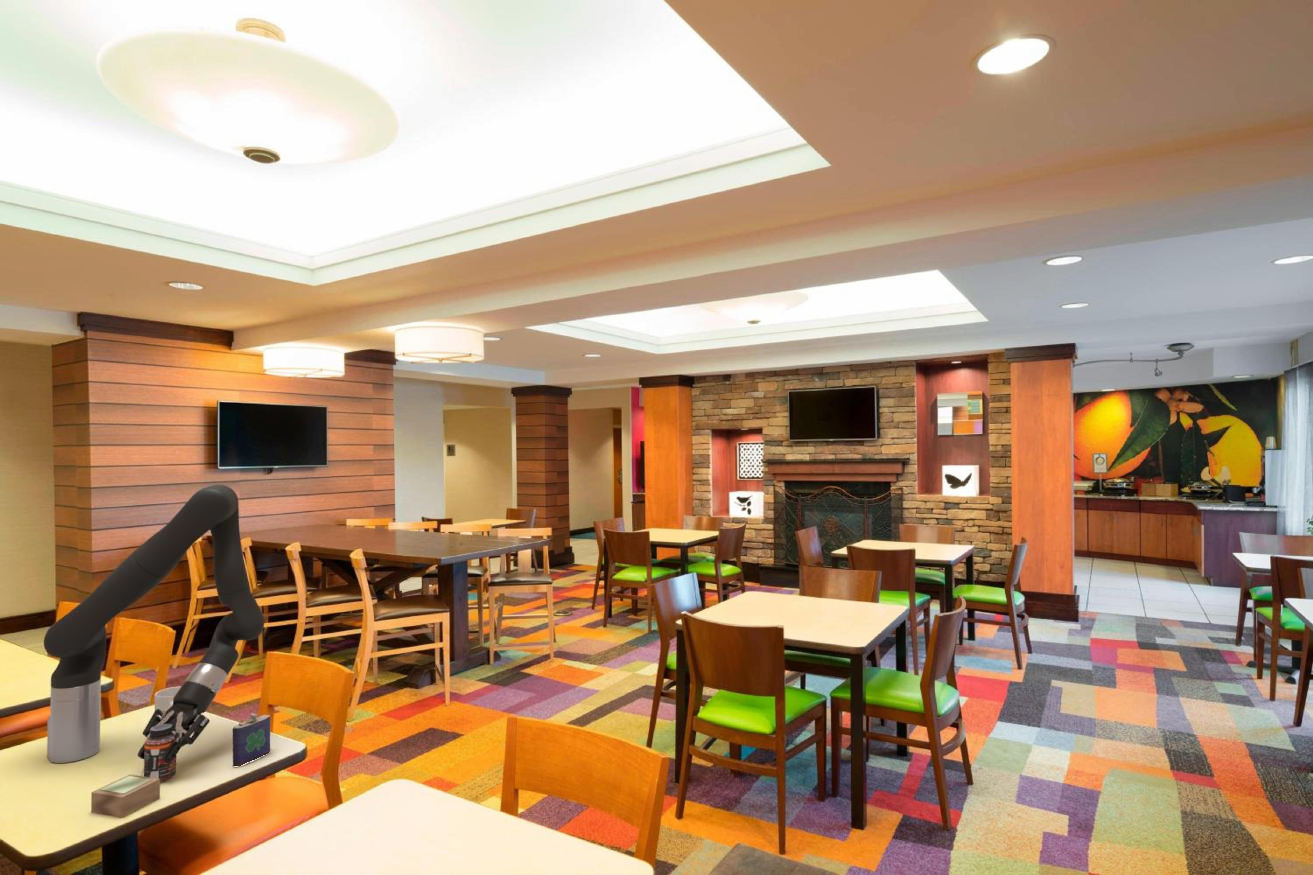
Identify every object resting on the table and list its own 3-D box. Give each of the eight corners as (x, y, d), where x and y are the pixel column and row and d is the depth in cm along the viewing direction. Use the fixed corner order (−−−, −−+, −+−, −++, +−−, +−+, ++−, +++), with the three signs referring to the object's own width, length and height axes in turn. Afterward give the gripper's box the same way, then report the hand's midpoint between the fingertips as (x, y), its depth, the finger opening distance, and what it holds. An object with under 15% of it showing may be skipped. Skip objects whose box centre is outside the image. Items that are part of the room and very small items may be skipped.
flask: (265, 750, 171) (266, 705, 171) (274, 752, 170) (274, 707, 170) (229, 766, 163) (230, 719, 163) (238, 768, 161) (238, 721, 161)
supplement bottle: (159, 785, 153) (160, 733, 153) (136, 783, 154) (137, 730, 154) (183, 773, 159) (183, 722, 159) (161, 770, 160) (161, 720, 160)
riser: (91, 812, 142) (91, 791, 142) (129, 793, 150) (130, 773, 150) (122, 817, 140) (122, 796, 140) (159, 797, 148) (160, 777, 148)
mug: (154, 730, 182) (155, 689, 182) (191, 723, 187) (191, 684, 187) (153, 747, 172) (154, 704, 172) (192, 740, 177) (192, 697, 177)
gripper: (166, 677, 166) (115, 749, 154) (216, 682, 162) (168, 756, 151) (186, 692, 171) (138, 762, 159) (235, 697, 167) (190, 770, 156)
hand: (153, 759), depth 155 cm, fingers closed on supplement bottle, 6 cm apart
